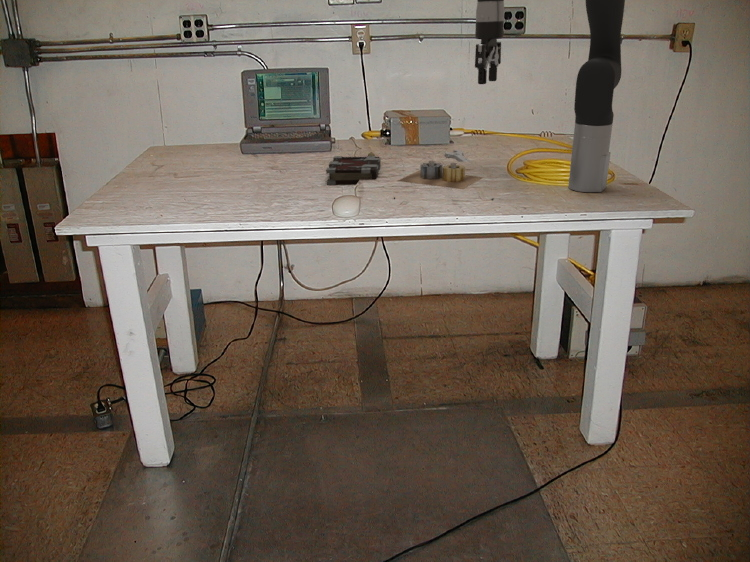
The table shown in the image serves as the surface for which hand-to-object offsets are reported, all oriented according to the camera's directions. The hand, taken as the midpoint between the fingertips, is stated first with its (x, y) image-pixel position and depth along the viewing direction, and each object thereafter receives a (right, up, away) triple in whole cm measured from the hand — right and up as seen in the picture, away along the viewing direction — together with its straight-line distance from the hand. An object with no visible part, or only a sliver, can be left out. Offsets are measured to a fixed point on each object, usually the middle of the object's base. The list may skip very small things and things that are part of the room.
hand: (487, 82), depth 174 cm
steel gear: (-16, -26, +2) cm, 30 cm away
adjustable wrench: (-4, -18, +26) cm, 32 cm away
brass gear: (-10, -27, -1) cm, 29 cm away
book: (-37, -24, +14) cm, 46 cm away
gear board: (-13, -28, 0) cm, 31 cm away
